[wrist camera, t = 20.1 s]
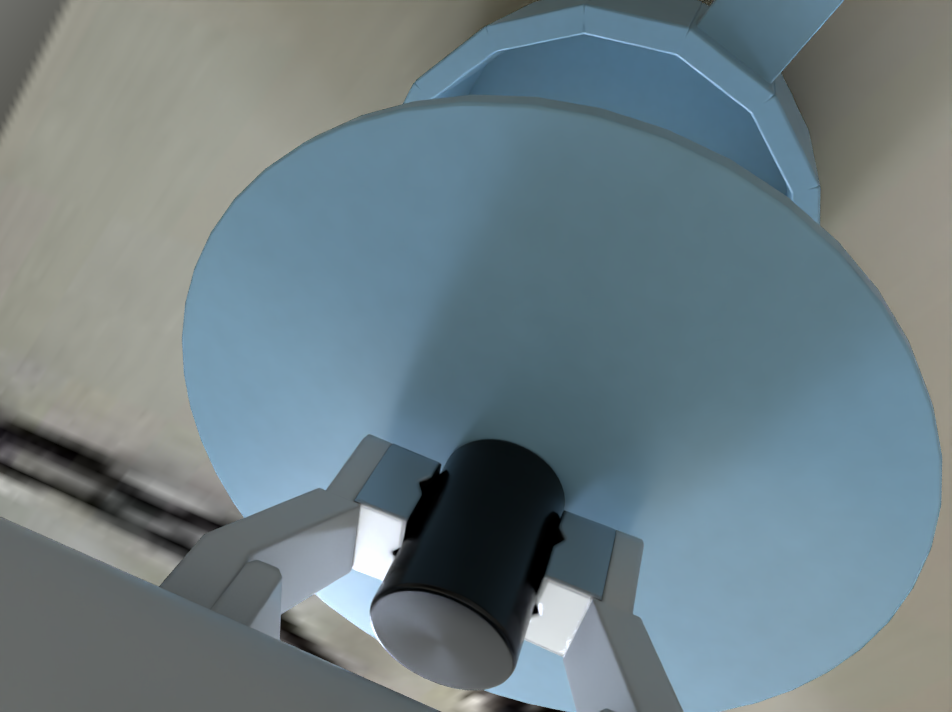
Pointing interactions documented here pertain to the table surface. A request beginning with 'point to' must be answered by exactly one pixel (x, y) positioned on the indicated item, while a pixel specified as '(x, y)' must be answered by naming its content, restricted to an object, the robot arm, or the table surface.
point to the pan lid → (571, 389)
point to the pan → (659, 72)
